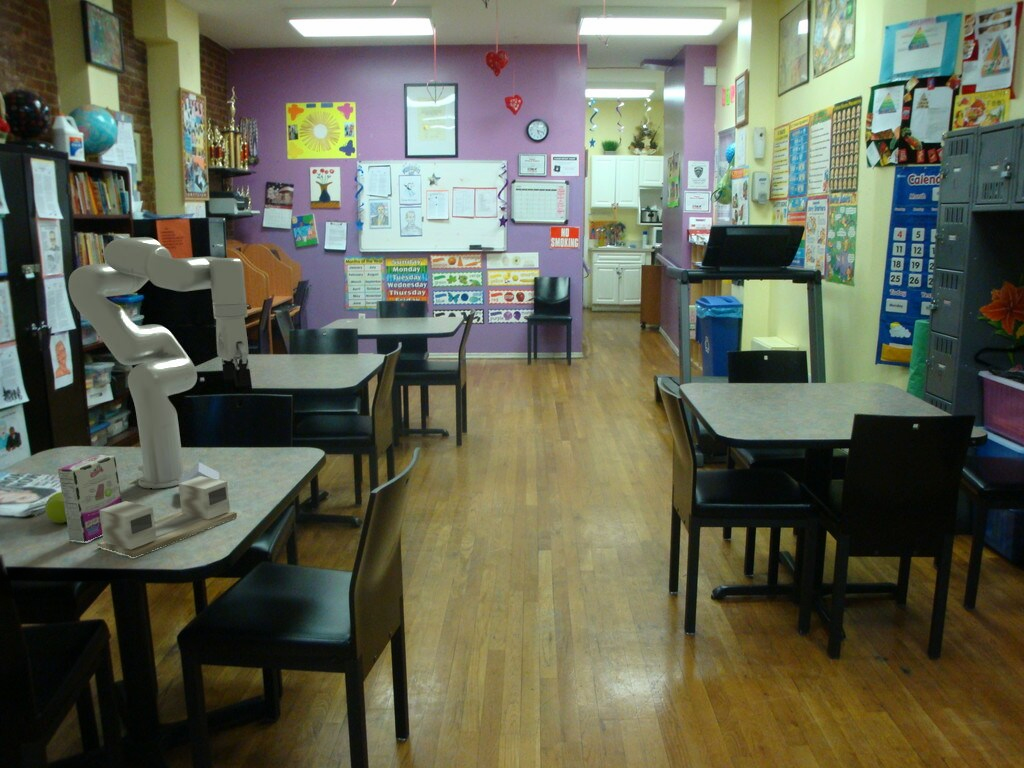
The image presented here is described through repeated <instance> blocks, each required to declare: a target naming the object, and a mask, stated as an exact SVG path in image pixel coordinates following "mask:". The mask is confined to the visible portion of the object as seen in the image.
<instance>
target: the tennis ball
mask: <svg viewBox="0 0 1024 768" xmlns="http://www.w3.org/2000/svg"><path fill="white" fill-rule="evenodd" d="M44 508H45V509H44V510H45V511H44V512H45V515H46V517H47V518H48V519H49V520H50V521H52V522H54V523H56V524H65V523H64V522H67V520H66V514H65V508H64V501H63V496H62V491H60V492H57V493H54V494H53V495H51V496H50V497H49V498H48V499H47V501H46V503H45V506H44Z"/></svg>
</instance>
